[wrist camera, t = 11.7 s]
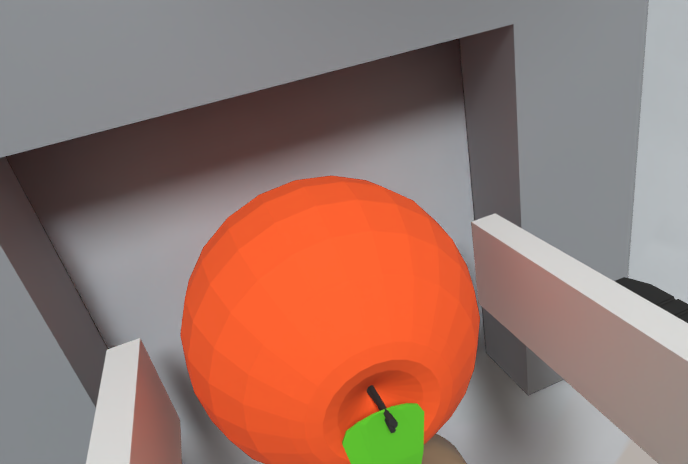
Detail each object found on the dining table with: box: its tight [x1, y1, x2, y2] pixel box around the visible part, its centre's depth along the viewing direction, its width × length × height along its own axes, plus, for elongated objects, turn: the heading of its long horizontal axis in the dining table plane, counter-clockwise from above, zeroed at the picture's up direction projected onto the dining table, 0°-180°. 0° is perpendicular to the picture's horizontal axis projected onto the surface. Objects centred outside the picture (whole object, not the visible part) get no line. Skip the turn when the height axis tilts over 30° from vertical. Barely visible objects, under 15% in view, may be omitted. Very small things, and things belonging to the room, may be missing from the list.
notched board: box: [0, 0, 649, 464], centre depth 13 cm, size 20×16×2 cm
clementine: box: [181, 176, 480, 464], centre depth 12 cm, size 8×7×7 cm
